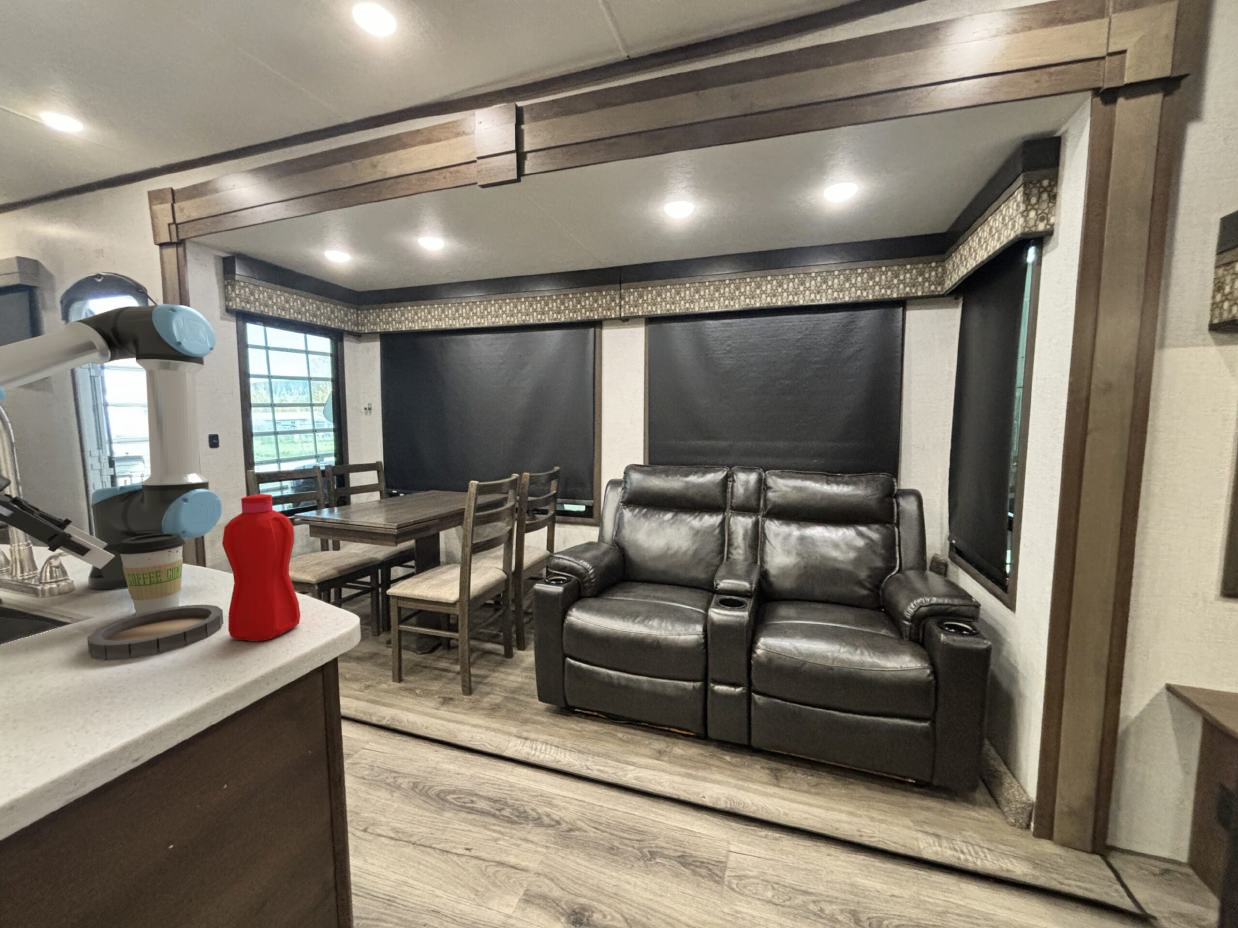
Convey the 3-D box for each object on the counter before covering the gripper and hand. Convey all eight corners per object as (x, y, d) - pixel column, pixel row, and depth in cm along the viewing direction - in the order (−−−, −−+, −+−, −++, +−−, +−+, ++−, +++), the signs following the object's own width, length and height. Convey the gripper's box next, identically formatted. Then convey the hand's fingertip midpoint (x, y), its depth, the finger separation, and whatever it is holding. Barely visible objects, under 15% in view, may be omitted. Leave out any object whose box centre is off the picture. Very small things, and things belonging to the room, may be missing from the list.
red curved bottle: (259, 619, 93) (250, 490, 91) (309, 623, 91) (300, 491, 89) (211, 640, 84) (199, 498, 82) (265, 645, 82) (254, 499, 80)
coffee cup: (149, 622, 92) (141, 545, 90) (109, 619, 94) (101, 542, 92) (203, 603, 101) (197, 533, 100) (165, 600, 103) (159, 531, 102)
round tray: (112, 629, 89) (111, 616, 89) (230, 610, 97) (229, 598, 97) (69, 670, 74) (67, 654, 74) (212, 643, 83) (211, 629, 83)
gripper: (-57, 495, 84) (80, 560, 97) (-79, 511, 68) (89, 587, 81) (-11, 462, 88) (115, 530, 101) (-21, 471, 72) (131, 549, 85)
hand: (104, 555), depth 91 cm, fingers open, 13 cm apart
